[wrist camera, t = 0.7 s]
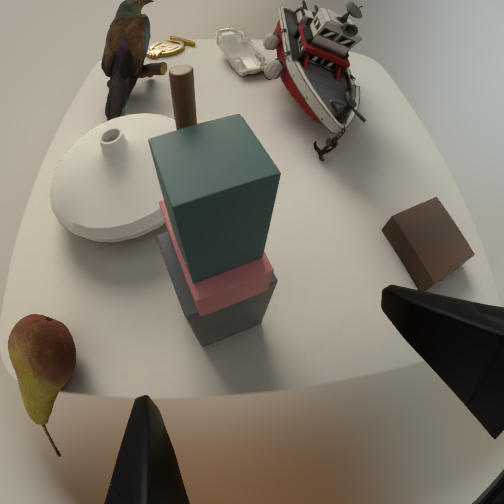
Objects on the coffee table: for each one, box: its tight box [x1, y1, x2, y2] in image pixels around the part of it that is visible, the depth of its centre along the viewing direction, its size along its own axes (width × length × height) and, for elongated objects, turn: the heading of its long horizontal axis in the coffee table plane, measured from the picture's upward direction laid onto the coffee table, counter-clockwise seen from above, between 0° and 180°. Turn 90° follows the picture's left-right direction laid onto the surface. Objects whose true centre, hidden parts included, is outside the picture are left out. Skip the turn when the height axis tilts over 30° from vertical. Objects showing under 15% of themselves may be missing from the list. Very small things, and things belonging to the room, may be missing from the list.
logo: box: [146, 36, 195, 59], centre depth 43 cm, size 7×1×8 cm
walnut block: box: [382, 197, 474, 291], centre depth 27 cm, size 8×8×2 cm
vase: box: [50, 113, 176, 242], centre depth 26 cm, size 16×16×7 cm
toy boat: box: [263, 0, 366, 161], centre depth 32 cm, size 13×30×17 cm, turn 3°
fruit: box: [8, 314, 76, 457], centre depth 17 cm, size 6×6×12 cm
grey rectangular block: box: [157, 232, 277, 347], centre depth 20 cm, size 5×5×9 cm
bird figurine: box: [101, 0, 167, 121], centre depth 32 cm, size 13×10×20 cm
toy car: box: [215, 27, 267, 76], centre depth 40 cm, size 5×12×4 cm, turn 27°
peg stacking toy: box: [148, 65, 281, 316], centre depth 12 cm, size 6×4×10 cm, turn 24°
